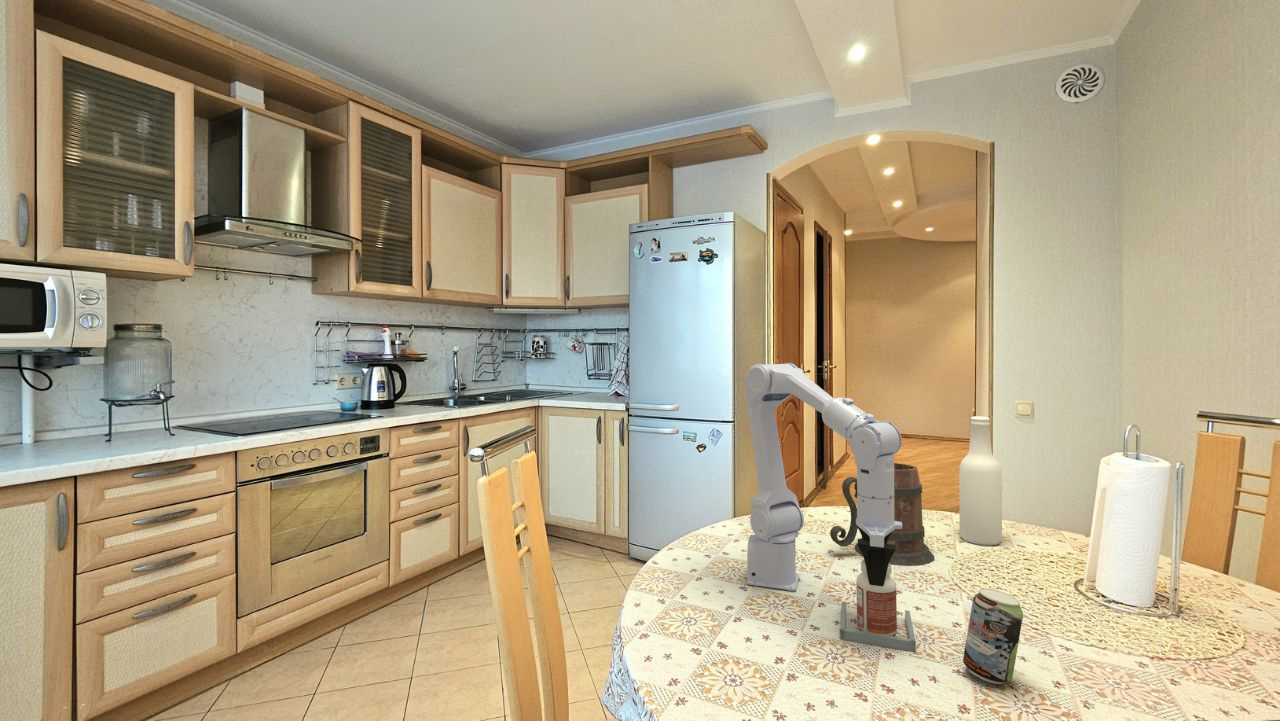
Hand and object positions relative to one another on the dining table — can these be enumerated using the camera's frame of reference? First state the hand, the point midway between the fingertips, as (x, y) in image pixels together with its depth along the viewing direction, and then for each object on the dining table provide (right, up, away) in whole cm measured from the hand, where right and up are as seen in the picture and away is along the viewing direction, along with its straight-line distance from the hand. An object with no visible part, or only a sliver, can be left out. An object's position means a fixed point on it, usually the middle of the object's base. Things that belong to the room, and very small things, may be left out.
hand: (875, 575), depth 93 cm
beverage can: (+11, -9, -14) cm, 20 cm away
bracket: (0, -9, 0) cm, 9 cm away
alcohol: (+43, -8, +42) cm, 61 cm away
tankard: (+16, -9, +35) cm, 39 cm away
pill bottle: (0, -9, 0) cm, 9 cm away
